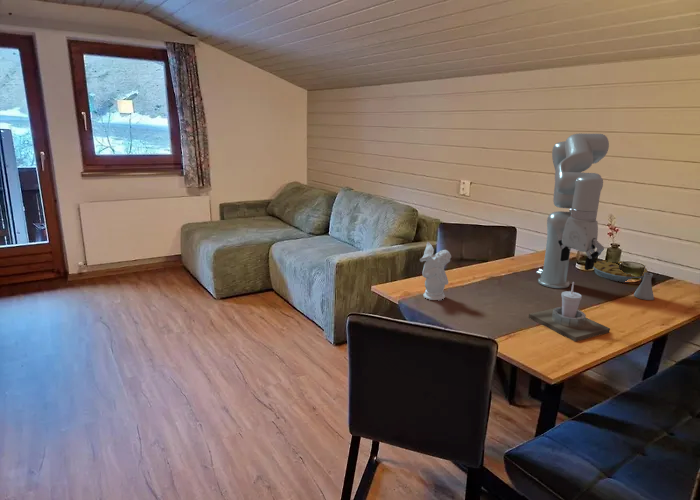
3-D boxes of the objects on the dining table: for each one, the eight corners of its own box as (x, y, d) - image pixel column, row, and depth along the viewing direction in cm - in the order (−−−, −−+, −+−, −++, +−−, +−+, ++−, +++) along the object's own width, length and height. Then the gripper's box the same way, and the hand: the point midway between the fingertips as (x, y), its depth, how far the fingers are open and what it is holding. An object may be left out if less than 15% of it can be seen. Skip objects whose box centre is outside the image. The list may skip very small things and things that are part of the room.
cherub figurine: (451, 300, 181) (456, 246, 174) (427, 306, 175) (430, 251, 168) (431, 289, 191) (435, 239, 184) (407, 295, 185) (410, 243, 178)
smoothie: (576, 318, 161) (582, 280, 157) (578, 325, 155) (585, 287, 151) (557, 315, 163) (562, 278, 159) (558, 322, 157) (564, 284, 153)
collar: (545, 317, 161) (547, 309, 160) (566, 312, 165) (567, 305, 164) (569, 329, 152) (570, 321, 152) (590, 324, 156) (592, 315, 156)
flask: (657, 301, 180) (662, 277, 177) (637, 299, 181) (641, 276, 178) (650, 294, 186) (654, 271, 184) (630, 293, 188) (634, 270, 185)
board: (528, 317, 165) (528, 313, 164) (560, 310, 171) (561, 306, 171) (574, 341, 147) (575, 337, 147) (609, 332, 154) (610, 328, 153)
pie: (610, 265, 223) (612, 255, 222) (657, 279, 205) (659, 268, 203) (581, 272, 213) (582, 262, 212) (627, 287, 195) (629, 276, 193)
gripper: (553, 210, 154) (547, 258, 159) (599, 221, 139) (590, 274, 144) (570, 208, 157) (563, 256, 162) (616, 219, 142) (607, 271, 147)
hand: (576, 264), depth 153 cm, fingers open, 9 cm apart
